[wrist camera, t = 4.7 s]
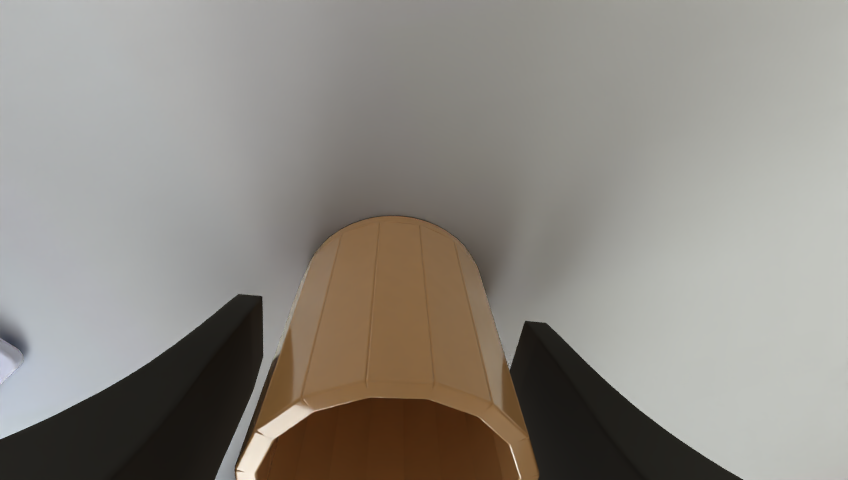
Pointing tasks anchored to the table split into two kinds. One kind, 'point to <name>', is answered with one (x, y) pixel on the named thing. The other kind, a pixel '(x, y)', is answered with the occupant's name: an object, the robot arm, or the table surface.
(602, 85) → the table surface
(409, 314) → the cup
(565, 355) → the robot arm
